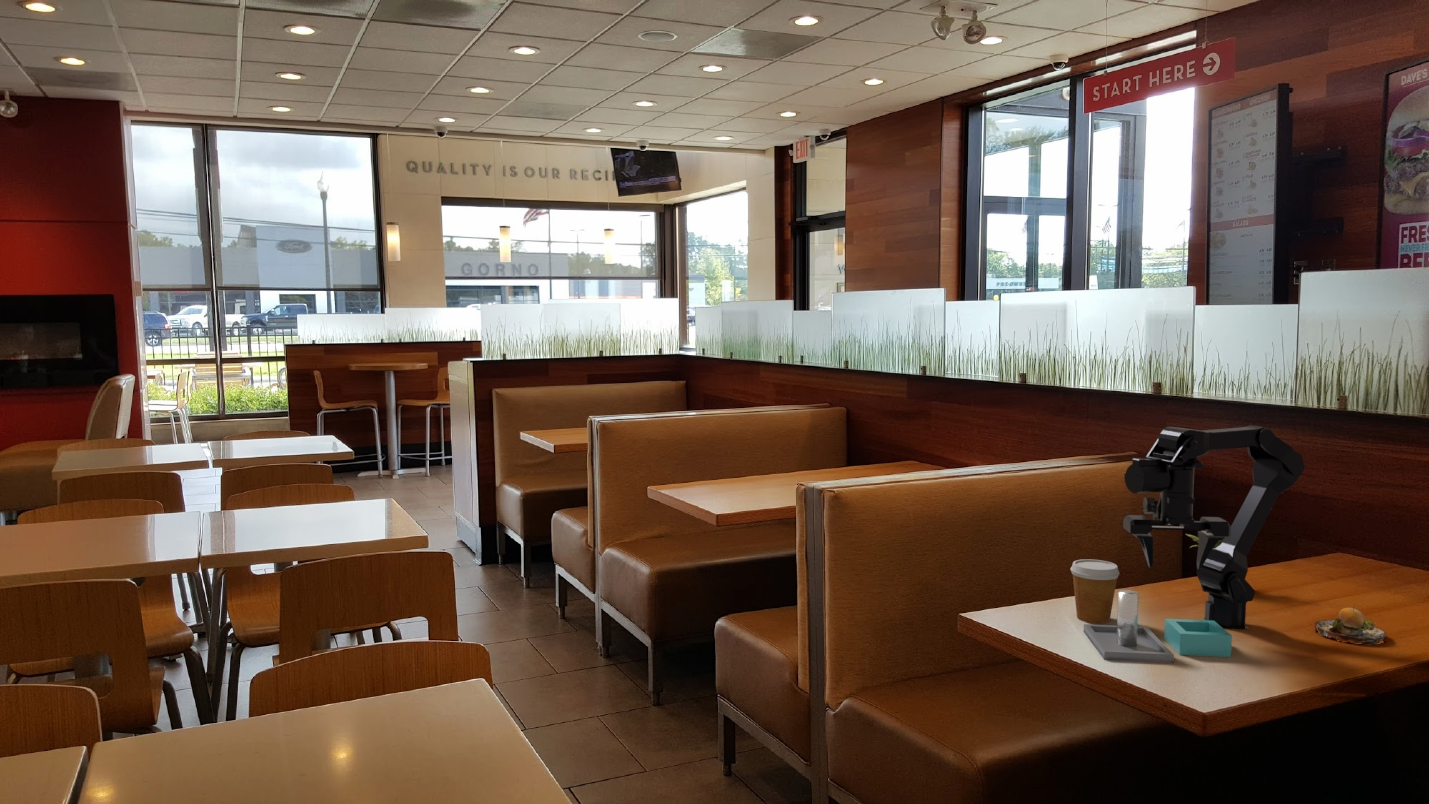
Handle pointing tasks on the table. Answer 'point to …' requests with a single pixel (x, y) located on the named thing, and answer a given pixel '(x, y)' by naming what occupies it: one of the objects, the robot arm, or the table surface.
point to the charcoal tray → (1145, 650)
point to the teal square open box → (1197, 637)
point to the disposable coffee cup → (1094, 589)
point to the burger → (1350, 628)
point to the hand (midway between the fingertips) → (1174, 568)
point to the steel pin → (1127, 618)
